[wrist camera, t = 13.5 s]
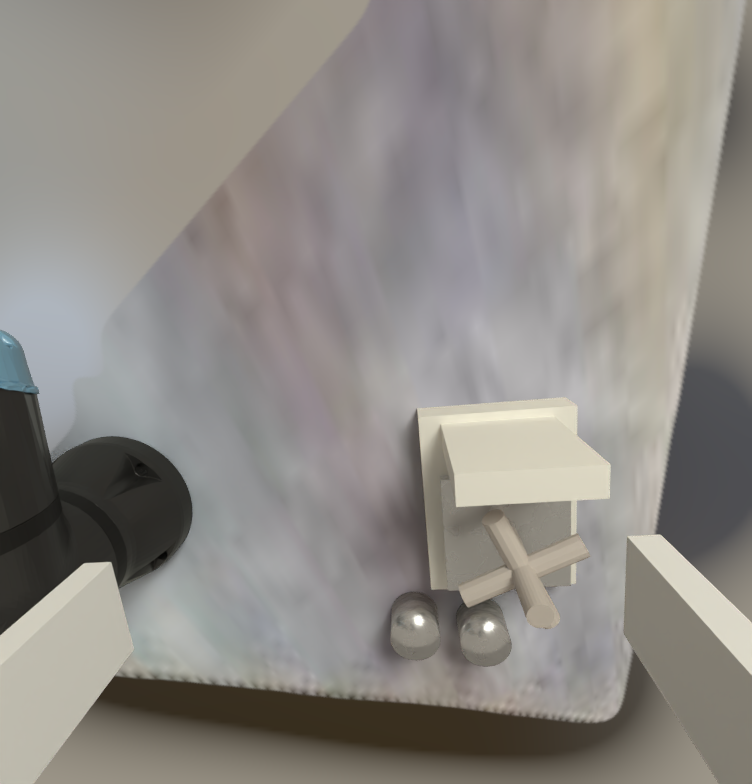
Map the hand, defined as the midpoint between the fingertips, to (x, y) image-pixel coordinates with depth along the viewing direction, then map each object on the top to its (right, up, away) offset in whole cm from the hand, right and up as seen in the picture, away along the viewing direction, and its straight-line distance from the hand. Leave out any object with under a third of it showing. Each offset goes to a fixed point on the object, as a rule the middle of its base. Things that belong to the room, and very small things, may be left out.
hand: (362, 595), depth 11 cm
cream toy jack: (+12, -7, +28) cm, 31 cm away
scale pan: (+12, -7, +29) cm, 32 cm away
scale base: (+12, -5, +33) cm, 35 cm away
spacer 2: (+12, -19, +37) cm, 43 cm away
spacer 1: (+5, -19, +37) cm, 42 cm away
